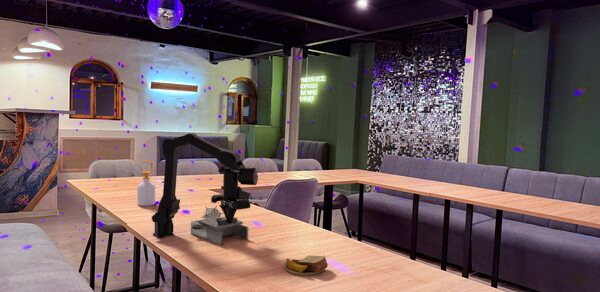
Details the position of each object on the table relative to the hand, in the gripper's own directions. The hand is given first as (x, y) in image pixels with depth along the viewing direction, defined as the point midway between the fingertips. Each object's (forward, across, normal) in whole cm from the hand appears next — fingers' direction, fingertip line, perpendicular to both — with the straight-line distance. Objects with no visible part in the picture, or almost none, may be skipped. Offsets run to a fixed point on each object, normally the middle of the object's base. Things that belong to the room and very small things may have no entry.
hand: (229, 223), depth 164 cm
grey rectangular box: (+7, +8, 0) cm, 10 cm away
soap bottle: (+8, +86, -5) cm, 86 cm away
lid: (+2, +7, 0) cm, 7 cm away
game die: (+7, +27, -9) cm, 29 cm away
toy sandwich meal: (+7, -42, -1) cm, 42 cm away
